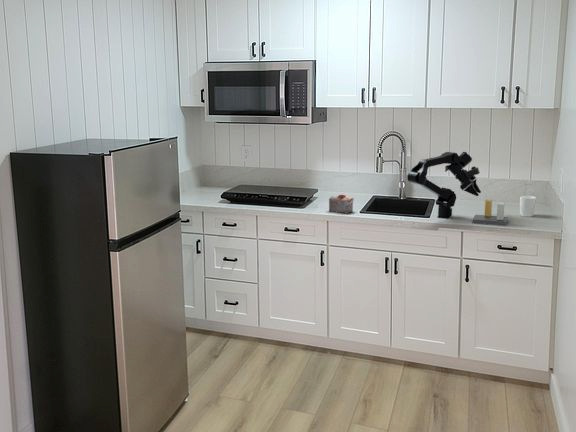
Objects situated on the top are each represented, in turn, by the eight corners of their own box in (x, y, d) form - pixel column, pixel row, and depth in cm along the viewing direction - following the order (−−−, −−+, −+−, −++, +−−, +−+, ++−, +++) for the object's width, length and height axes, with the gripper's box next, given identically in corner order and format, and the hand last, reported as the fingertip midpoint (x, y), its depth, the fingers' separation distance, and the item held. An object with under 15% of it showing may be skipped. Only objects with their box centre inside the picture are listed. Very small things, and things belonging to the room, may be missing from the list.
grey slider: (496, 219, 295) (497, 204, 293) (497, 218, 298) (498, 202, 297) (502, 220, 294) (504, 204, 292) (503, 218, 297) (504, 203, 295)
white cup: (536, 215, 314) (538, 196, 311) (531, 217, 308) (532, 199, 306) (521, 213, 319) (523, 195, 316) (516, 215, 313) (517, 197, 311)
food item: (355, 211, 331) (355, 194, 329) (350, 214, 324) (350, 196, 322) (332, 209, 337) (332, 192, 335) (327, 212, 330) (327, 195, 328)
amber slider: (484, 216, 303) (485, 201, 301) (485, 214, 306) (486, 199, 305) (490, 216, 302) (491, 201, 300) (491, 215, 305) (492, 199, 303)
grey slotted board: (472, 223, 299) (472, 219, 298) (475, 218, 309) (475, 214, 308) (505, 225, 292) (505, 221, 292) (507, 220, 302) (507, 216, 302)
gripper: (468, 164, 298) (489, 187, 296) (473, 159, 315) (493, 181, 313) (451, 178, 303) (472, 201, 301) (457, 173, 320) (477, 194, 318)
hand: (479, 194), depth 308 cm, fingers open, 9 cm apart
